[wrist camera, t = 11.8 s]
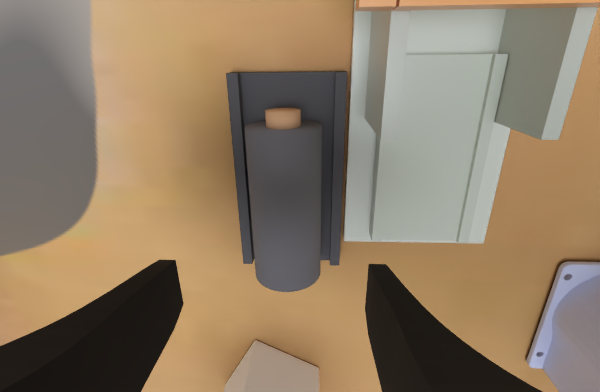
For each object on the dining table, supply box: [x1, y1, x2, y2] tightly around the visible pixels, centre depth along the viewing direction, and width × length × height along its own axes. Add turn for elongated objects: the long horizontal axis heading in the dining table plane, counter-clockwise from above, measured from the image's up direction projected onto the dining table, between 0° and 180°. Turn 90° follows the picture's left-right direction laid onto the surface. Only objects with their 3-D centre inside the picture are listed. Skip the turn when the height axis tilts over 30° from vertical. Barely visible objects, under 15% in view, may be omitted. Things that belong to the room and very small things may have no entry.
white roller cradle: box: [343, 0, 598, 243], centre depth 17 cm, size 14×9×6 cm, turn 1°
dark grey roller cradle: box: [226, 71, 347, 265], centre depth 20 cm, size 12×6×1 cm, turn 1°
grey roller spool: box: [245, 108, 322, 292], centre depth 19 cm, size 11×4×4 cm, turn 1°
